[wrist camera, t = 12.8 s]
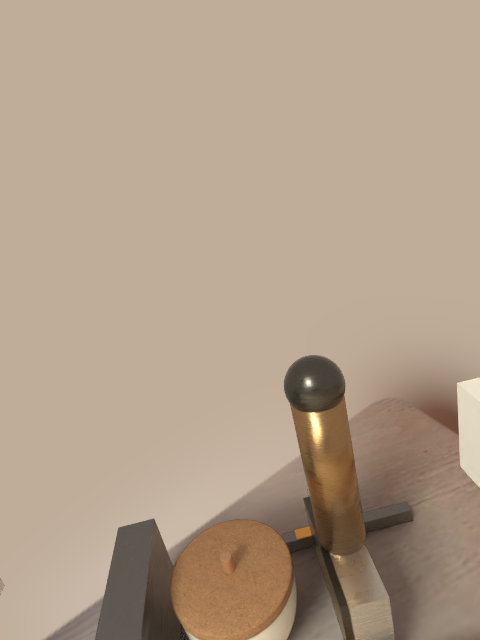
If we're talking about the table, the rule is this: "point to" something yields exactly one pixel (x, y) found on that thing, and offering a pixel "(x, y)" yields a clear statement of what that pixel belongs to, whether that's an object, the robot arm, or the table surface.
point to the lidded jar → (235, 584)
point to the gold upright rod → (336, 499)
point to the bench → (156, 571)
